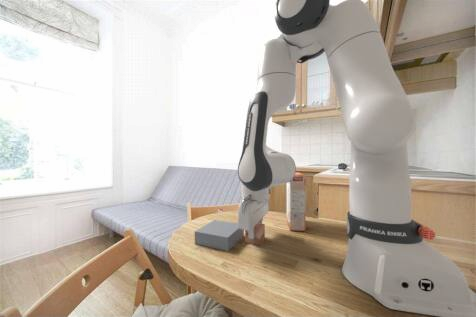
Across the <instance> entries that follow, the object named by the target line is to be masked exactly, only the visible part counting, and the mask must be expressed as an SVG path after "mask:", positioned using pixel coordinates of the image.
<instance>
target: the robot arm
mask: <svg viewBox="0 0 476 317" xmlns="http://www.w3.org/2000/svg"><path fill="white" fill-rule="evenodd" d="M330 1H331V0H276V1H275V5H274V10H273V13H274V20H275V23H276V27H277V29H278V30H279V31H280V33H281V34H280V35H279V36H278V37H276V38H273V39H270V40H268V41H267V42H266V43H264V45H263V46H262V48H261V51H260V54H259V59H258V67H257V87H256V92H255V94H253V96H252V97H251V99H249V100H250V101H249V105H248V107H247V112H246V113H247V114H246V121H245V128H244V135H243V136H244V138H243V143H242V150H241V155H240V158H239V162H238V166H237V175H238V179H239V181H240V183H241V187H240V188H241V198H242V201H241V202H240V203H239V205H238V209H237V210H238V211H237V212H238V214H237V223H238V227H239V229H242V230H244V231H245V230H247V231H248V237H249V238H250V239H253V238H254V237H255V232H254V225H255V224H257V223H260V224H263V222H264V221H263V220H264V217H265V216H266V215H267V214H268V213H269V209H270V195H271V193H272V192H271V187H272V188H273V187H277V186H281V185H285V184H286V185H287V183H288V182H290V181H291V180H292V179H293V178H294V176H295V173H296V172H297V166H296V163H295V161H294V160H295V159H293V157H292V156H290V155H289V154H287V153H284V152H281V151H277V150H275V149H272V148H270V146H268V145H267V136H268V128H269V122H270V119H271V117H272V116H273V115H274V114H275V113H278V112H280V111H283V110H285V109H286V108H288V106H290V105H291V103H293V101H294V99H295V95H296V90H297V89H296V88H297V63H298V64H303V63H305V62H307V61H309V60H313V59H316V58H318V57H319V56H321V55H322V54H324V53H325V56H326V60H327V63H328V67H329V71H330V73H331V77H332V80H333V84H334V87H335V88H334V89H335V90H336V95H337V99H338V104H339V107H340V108H339V109H340V111H341V117H342V120H343V123H344V127H345V131H346V136H347V137H348V140H349V141H350V160H349V161H350V162H349V164H350V165H349V180H348V181H349V185H348V186H349V191H348V192H349V194H348V196H349V197H348V198H349V211H348V212H347V217H346V234H347V237H348V241H347V248H346V255H345V258H344V262H343V265H342V268H341V271H342V274H343V275H344V277H345V278H346V279H347V281H348V282H350V284H352V285H353V286H355V287H356V288H358V289H359V290H361V291H363V292H364V293H366V294H368V295H369V296H372V297H373V298H374V299H375V300H376V301H378V303H380V304H382V306H384V307H386V308H388V309H391V310H395V311H402V312H408V313H415V314H421V315H428V316H435V317H476V292H475V291H473V290H472V289H471V288H470V287H469V285H468V282H467V279H466V276H465V275H464V272H462V270H461V269H460V267H458V265H457V264H456V263H455V262H453V261H452V260H451V259H450V258H449V257H447V256H446V255H445V254H443V253H442V252H441V251H439V249H436V248H435V246H433V245H431V243H429V242H427V241H432V240H434V239H436V236H437V235H436V232H435V231H434V230H432V229H431V228H430V227H428V226H424V225H423V224H421V223H420V222H418V221H416V220H414V219H413V218H412V181H411V180H412V179H411V174H410V168H409V166H410V165H409V158H408V144H407V143H408V142H409V140H410V139H411V138H412V137H413V135H414V133H415V130H416V126H417V117H416V114H415V112H414V109H413V108H412V105H411V102H410V100H409V98H408V96H407V93H406V92H405V89H404V88H403V85H402V84H401V81H400V79H399V78H398V76H397V74H396V72H395V70H394V68H393V66H392V63H391V60H390V57H389V54H388V51H387V48H386V45H385V41H384V39H383V36H382V32H381V31H380V28H379V26H378V24H377V21H376V19H375V18H374V16H373V13H372V12H371V11H370V9H369V8H368V6H367V5H366V3H365V2H364V1H363V0H344V1H342V2H340V3H338V4H336V5H332V4H330ZM424 239H425V240H424Z"/></svg>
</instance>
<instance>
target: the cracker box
mask: <svg viewBox="0 0 476 317" xmlns="http://www.w3.org/2000/svg"><path fill="white" fill-rule="evenodd" d="M286 221H287V225H288V227H289V228H288V229H289V230H290V231H292V232H293V231H295V232H306V175H305V174H303V173H301V172H297V171H296V173H295V176H294V178H293V179H292V180H291V181H290V182H288V183H286Z"/></svg>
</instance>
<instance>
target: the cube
mask: <svg viewBox="0 0 476 317" xmlns="http://www.w3.org/2000/svg"><path fill="white" fill-rule="evenodd" d="M265 226H266V225H265V223H262V224H260V223H257V224H255V225H254V232H255V237H254V238H253V239H250V238H249V237H248V231H247V230H244V235H245V239H244V240H245V244H246V243H247V244H253V245H258V246H261V244H263V242H264V240H265V239H266V235H265V234H266V232H265V230H266V228H265Z"/></svg>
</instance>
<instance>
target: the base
mask: <svg viewBox="0 0 476 317" xmlns="http://www.w3.org/2000/svg"><path fill="white" fill-rule="evenodd" d="M244 235H245V230H242V229H239V227H238V222H237V223H235V222H230V221H223V220H217V219H216V220H215V219H213V220H212V221H211V222H209V223H207V224H205V225H204V226H201V227H200V228H198V229H197V230H195V231H194V244H195V245H199V246H202V247H207V248H213V249H217V250H221V251H225V252H226V251H227V252H228V251H229V250H231V249H232V248H233V247H234V246H235V245H236V244H237V243H238V242H239V241H240V240H241V239H242V238H243V237H244Z"/></svg>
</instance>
